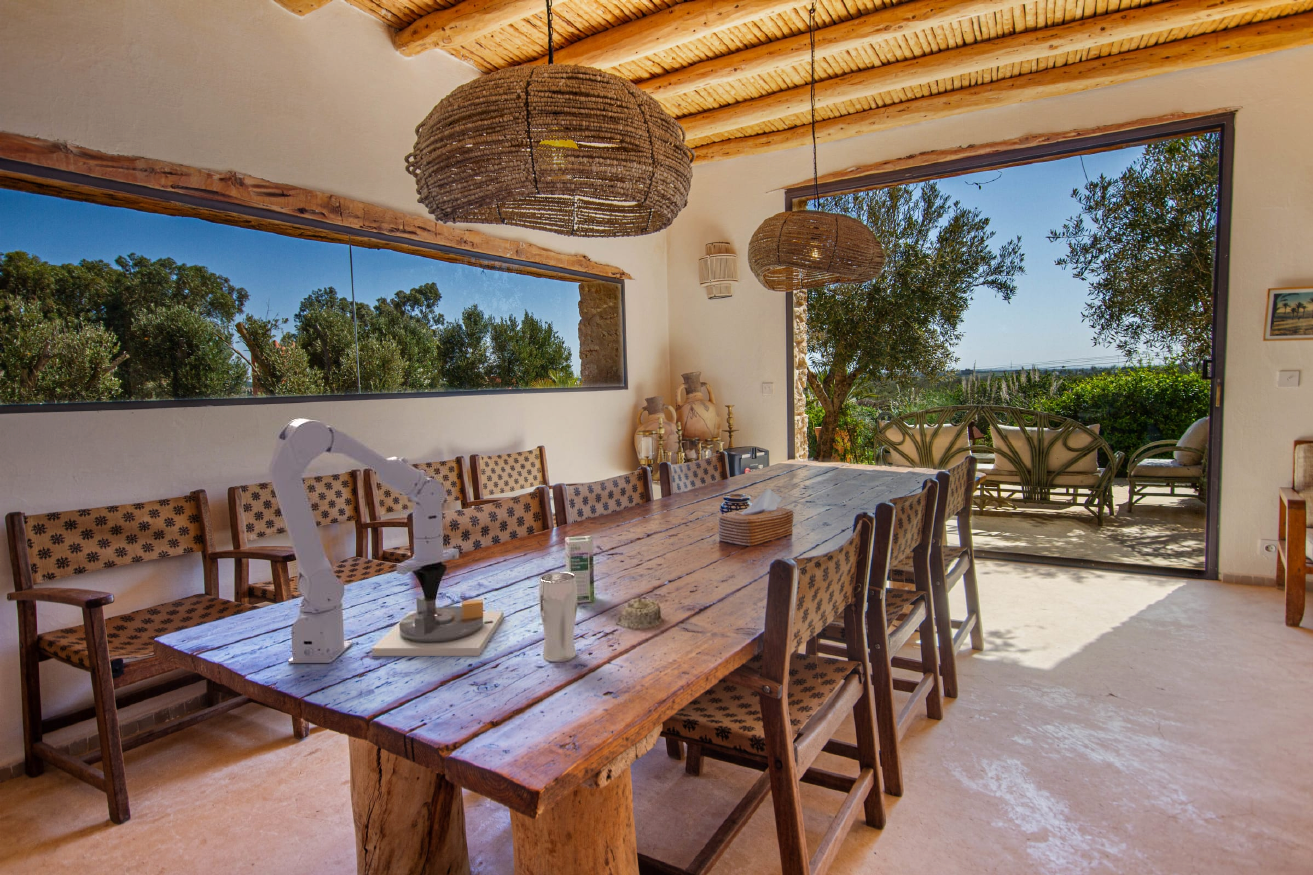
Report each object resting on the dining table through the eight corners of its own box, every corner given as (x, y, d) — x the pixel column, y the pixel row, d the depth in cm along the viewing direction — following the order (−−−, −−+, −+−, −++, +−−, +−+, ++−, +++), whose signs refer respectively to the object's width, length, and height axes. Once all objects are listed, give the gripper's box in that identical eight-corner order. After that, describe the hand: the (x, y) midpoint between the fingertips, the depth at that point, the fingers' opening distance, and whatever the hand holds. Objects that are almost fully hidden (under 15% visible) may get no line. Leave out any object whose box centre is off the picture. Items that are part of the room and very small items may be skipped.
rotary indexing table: (499, 626, 139) (498, 603, 139) (425, 649, 127) (424, 625, 127) (455, 608, 150) (455, 587, 149) (384, 628, 138) (383, 606, 138)
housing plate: (479, 655, 129) (478, 646, 128) (371, 655, 129) (371, 647, 129) (503, 617, 148) (503, 610, 148) (410, 618, 149) (410, 610, 149)
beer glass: (560, 645, 133) (559, 569, 132) (586, 654, 129) (584, 575, 127) (532, 656, 128) (530, 577, 127) (558, 666, 124) (556, 584, 122)
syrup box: (569, 604, 157) (568, 541, 155) (565, 596, 162) (564, 535, 161) (594, 602, 158) (593, 540, 157) (590, 594, 164) (589, 534, 163)
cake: (663, 616, 151) (665, 592, 151) (661, 634, 141) (662, 608, 141) (618, 611, 152) (620, 588, 151) (612, 629, 142) (614, 603, 141)
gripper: (441, 526, 150) (443, 587, 152) (385, 540, 138) (388, 606, 139) (465, 530, 147) (467, 592, 148) (409, 544, 134) (412, 612, 136)
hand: (430, 599), depth 143 cm, fingers closed, pressing on rotary indexing table
